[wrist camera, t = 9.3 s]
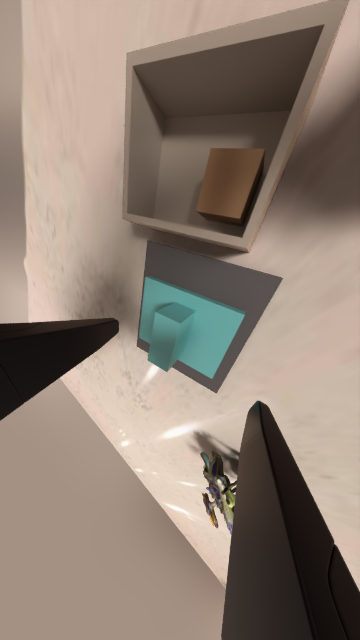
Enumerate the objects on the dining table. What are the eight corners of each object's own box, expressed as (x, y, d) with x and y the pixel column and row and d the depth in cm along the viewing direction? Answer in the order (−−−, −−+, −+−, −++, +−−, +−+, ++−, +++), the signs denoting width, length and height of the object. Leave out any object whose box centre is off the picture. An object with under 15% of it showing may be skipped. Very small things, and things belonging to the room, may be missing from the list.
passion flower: (225, 430, 33) (185, 454, 27) (268, 434, 26) (226, 468, 19) (246, 498, 28) (202, 547, 22) (307, 528, 21) (268, 617, 14)
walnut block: (263, 172, 12) (265, 148, 10) (242, 226, 14) (240, 218, 11) (219, 169, 13) (210, 147, 11) (206, 219, 15) (196, 211, 13)
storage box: (312, 104, 10) (351, -6, 6) (249, 252, 15) (246, 248, 11) (164, 114, 14) (126, 53, 10) (151, 228, 19) (122, 219, 15)
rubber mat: (282, 277, 14) (282, 278, 14) (217, 390, 23) (216, 393, 23) (150, 241, 20) (147, 240, 19) (138, 344, 28) (136, 346, 28)
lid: (246, 309, 16) (241, 332, 11) (215, 370, 21) (202, 405, 16) (154, 275, 20) (119, 280, 15) (146, 332, 25) (117, 351, 20)
